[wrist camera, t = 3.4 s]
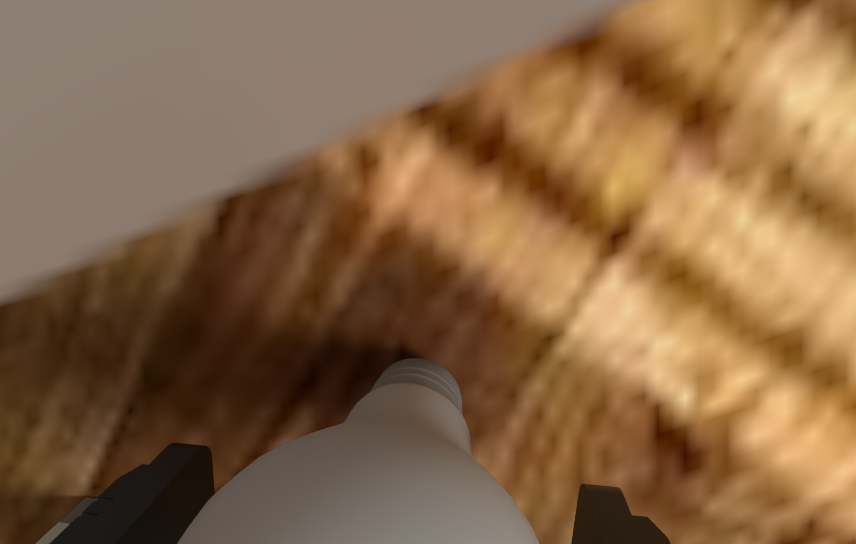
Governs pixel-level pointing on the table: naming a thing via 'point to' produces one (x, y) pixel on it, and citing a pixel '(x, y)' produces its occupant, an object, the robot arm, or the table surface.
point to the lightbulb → (371, 478)
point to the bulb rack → (66, 521)
